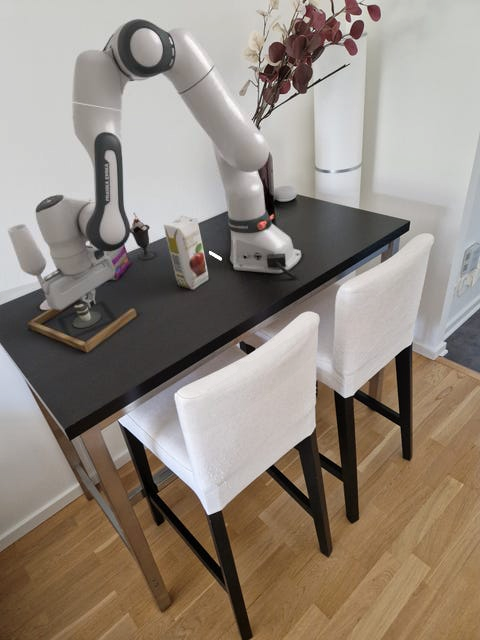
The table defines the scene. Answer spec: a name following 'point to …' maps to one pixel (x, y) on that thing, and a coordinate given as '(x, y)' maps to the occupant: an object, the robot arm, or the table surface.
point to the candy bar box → (118, 261)
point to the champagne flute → (28, 254)
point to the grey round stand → (85, 316)
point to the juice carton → (186, 251)
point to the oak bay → (71, 341)
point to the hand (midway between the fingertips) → (90, 305)
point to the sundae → (141, 237)
